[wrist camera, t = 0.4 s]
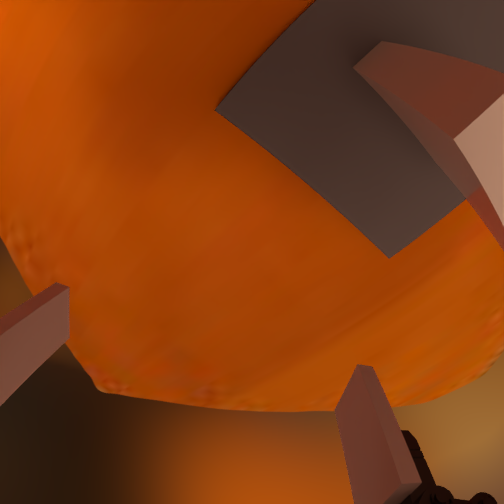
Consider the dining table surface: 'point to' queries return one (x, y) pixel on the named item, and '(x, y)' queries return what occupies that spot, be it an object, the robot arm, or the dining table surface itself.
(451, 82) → the tile
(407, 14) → the mat
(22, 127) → the dining table surface
